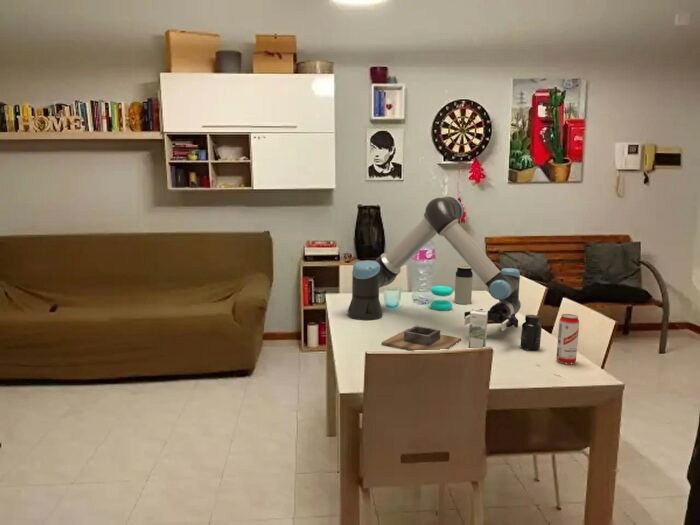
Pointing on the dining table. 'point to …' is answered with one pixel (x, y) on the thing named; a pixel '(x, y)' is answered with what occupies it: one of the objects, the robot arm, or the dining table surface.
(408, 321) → the dining table surface
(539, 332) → the supplement bottle
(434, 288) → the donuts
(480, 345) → the syrup box
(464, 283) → the travel mug
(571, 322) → the beer can
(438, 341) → the collar board
